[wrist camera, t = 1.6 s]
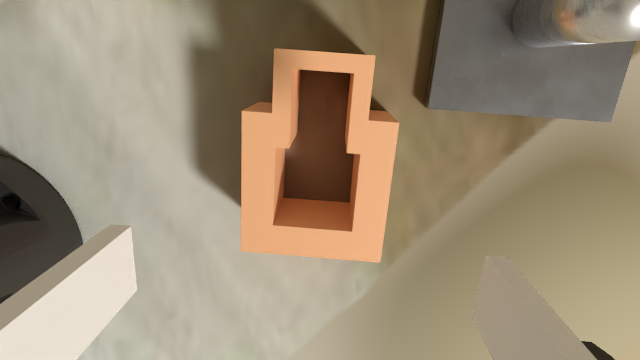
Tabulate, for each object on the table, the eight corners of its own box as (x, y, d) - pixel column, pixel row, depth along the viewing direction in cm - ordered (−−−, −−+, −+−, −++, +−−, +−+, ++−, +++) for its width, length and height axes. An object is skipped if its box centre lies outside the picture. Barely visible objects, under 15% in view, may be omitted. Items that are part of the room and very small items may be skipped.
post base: (424, 106, 26) (469, 129, 17) (456, -99, 22) (533, -201, 13) (600, 119, 25) (735, 149, 17) (662, -86, 22) (875, -181, 13)
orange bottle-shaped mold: (372, 228, 29) (380, 262, 24) (256, 219, 29) (241, 251, 24) (394, 58, 25) (408, 57, 20) (259, 48, 25) (241, 45, 20)
